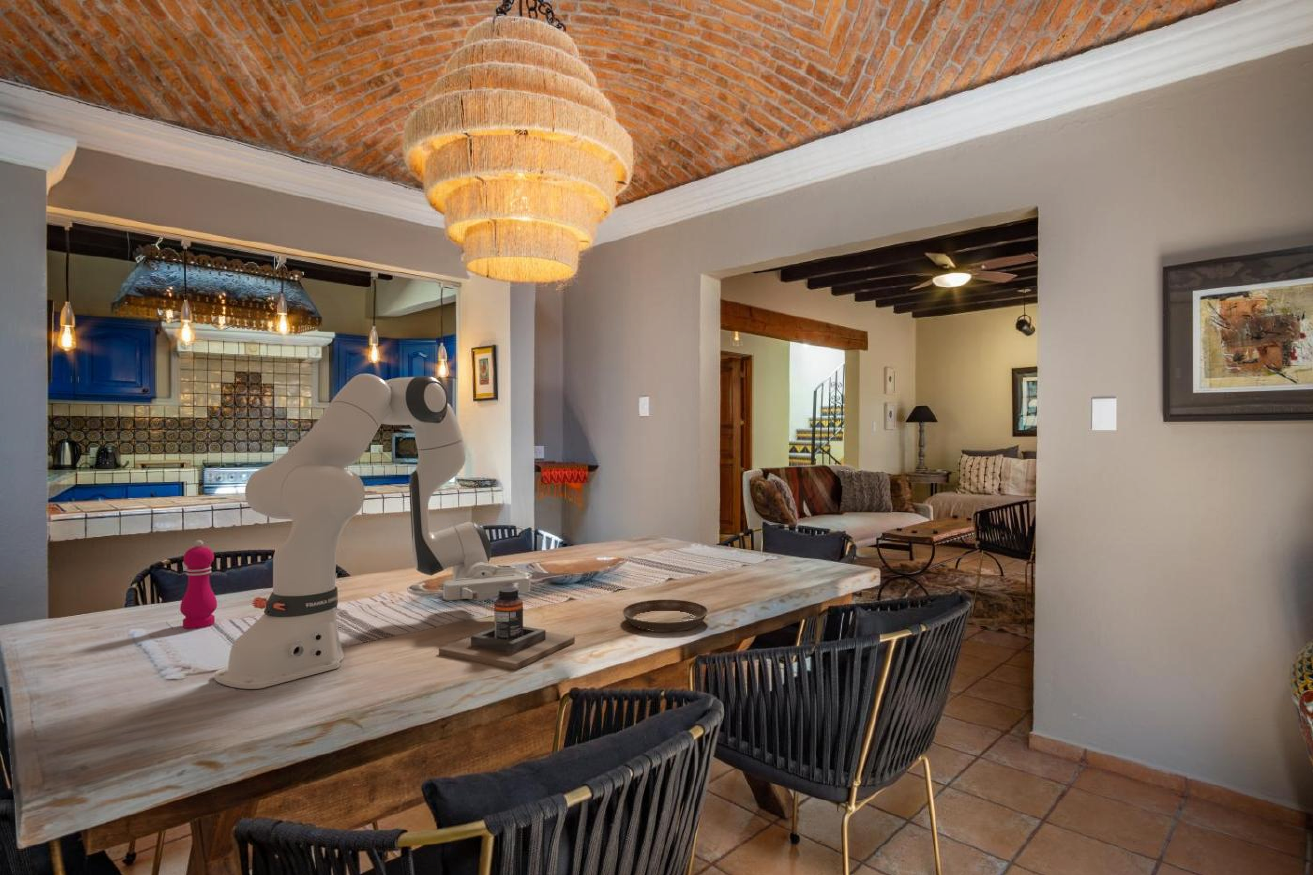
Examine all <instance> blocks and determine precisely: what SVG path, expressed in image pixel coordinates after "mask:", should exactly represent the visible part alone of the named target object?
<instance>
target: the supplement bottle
mask: <svg viewBox="0 0 1313 875" xmlns="http://www.w3.org/2000/svg"><path fill="white" fill-rule="evenodd" d="M493 618H494V619H493V620H494V627H495V630H494V631H495V638H499V639H505V640H510V641H512V640H515V639H517V638H520V637H522V636H523V626H524V601H523V600H522V598H520V597H519V593H518V589H517V588H513V587H506V588H502V589H500V590H499V595H498V598H497V599H496V600H495V601H494V617H493ZM494 627H493V628H494Z"/></svg>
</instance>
